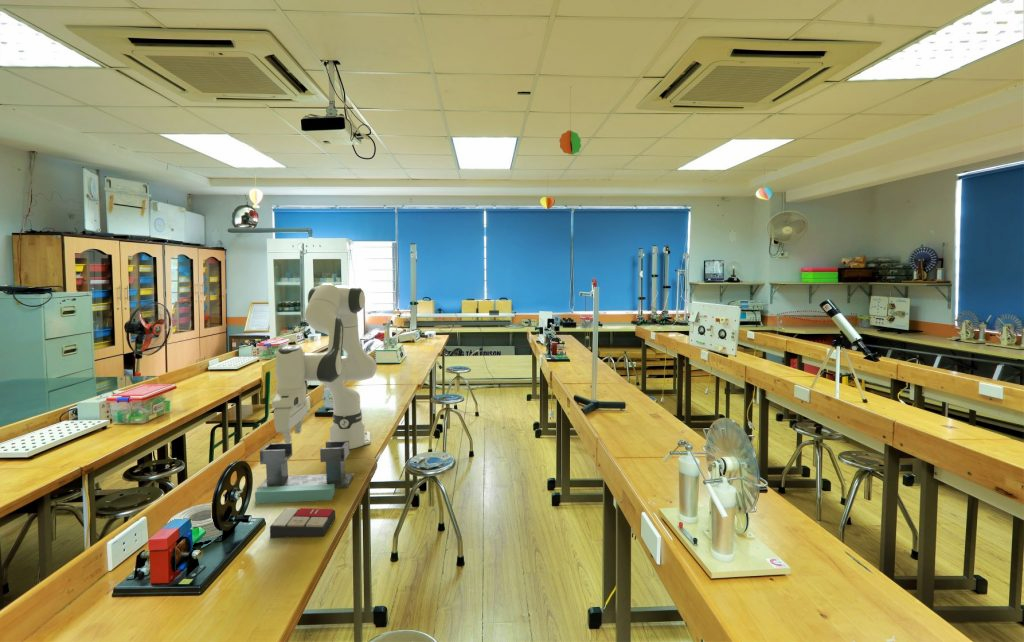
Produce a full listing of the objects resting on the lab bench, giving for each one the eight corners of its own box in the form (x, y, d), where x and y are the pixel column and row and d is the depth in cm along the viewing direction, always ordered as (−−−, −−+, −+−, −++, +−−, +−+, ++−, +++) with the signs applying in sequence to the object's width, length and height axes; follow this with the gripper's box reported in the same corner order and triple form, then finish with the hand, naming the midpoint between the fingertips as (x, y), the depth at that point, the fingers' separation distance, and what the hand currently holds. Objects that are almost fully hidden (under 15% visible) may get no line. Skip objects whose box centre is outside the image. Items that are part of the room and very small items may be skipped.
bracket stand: (268, 479, 179) (266, 442, 178) (353, 476, 182) (352, 439, 181) (257, 491, 169) (255, 452, 168) (347, 487, 172) (346, 449, 171)
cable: (197, 554, 131) (196, 532, 131) (149, 544, 137) (147, 523, 136) (250, 523, 148) (249, 503, 147) (205, 515, 153) (204, 496, 153)
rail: (260, 498, 165) (260, 487, 164) (334, 495, 167) (334, 484, 166) (255, 504, 161) (254, 492, 160) (331, 501, 163) (331, 489, 162)
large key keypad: (323, 525, 139) (269, 524, 139) (323, 540, 140) (269, 538, 139) (335, 507, 150) (285, 506, 150) (335, 521, 151) (285, 519, 150)
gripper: (292, 389, 171) (294, 428, 172) (269, 404, 150) (271, 448, 151) (311, 388, 171) (312, 427, 172) (291, 403, 151) (292, 447, 152)
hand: (293, 437), depth 162 cm, fingers open, 8 cm apart
